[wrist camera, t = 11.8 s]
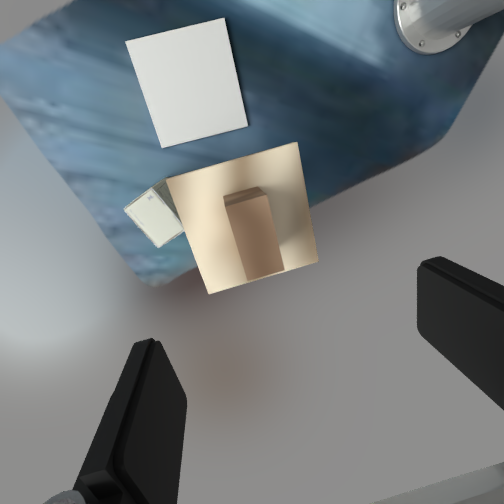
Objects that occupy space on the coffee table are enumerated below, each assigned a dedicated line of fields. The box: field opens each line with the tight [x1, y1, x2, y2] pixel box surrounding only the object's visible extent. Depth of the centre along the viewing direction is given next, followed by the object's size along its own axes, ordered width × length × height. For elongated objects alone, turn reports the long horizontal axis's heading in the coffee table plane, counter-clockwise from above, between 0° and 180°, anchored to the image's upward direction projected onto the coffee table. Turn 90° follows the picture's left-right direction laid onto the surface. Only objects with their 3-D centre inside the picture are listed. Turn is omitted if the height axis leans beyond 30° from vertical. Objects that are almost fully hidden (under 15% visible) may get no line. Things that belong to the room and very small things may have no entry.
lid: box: [166, 142, 318, 294], centre depth 22 cm, size 11×11×6 cm
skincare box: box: [124, 177, 185, 248], centre depth 37 cm, size 6×4×12 cm
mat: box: [125, 18, 248, 148], centre depth 37 cm, size 13×13×1 cm
